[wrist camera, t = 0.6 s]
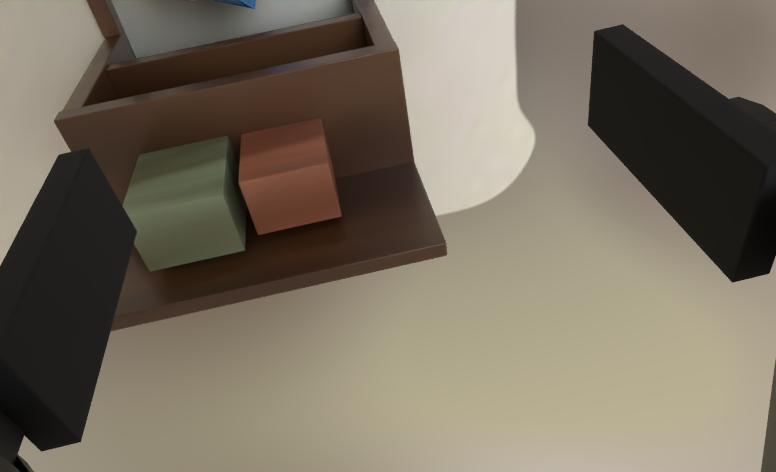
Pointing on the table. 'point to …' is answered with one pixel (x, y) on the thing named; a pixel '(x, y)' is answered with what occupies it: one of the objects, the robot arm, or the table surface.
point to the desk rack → (254, 161)
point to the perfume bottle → (239, 2)
